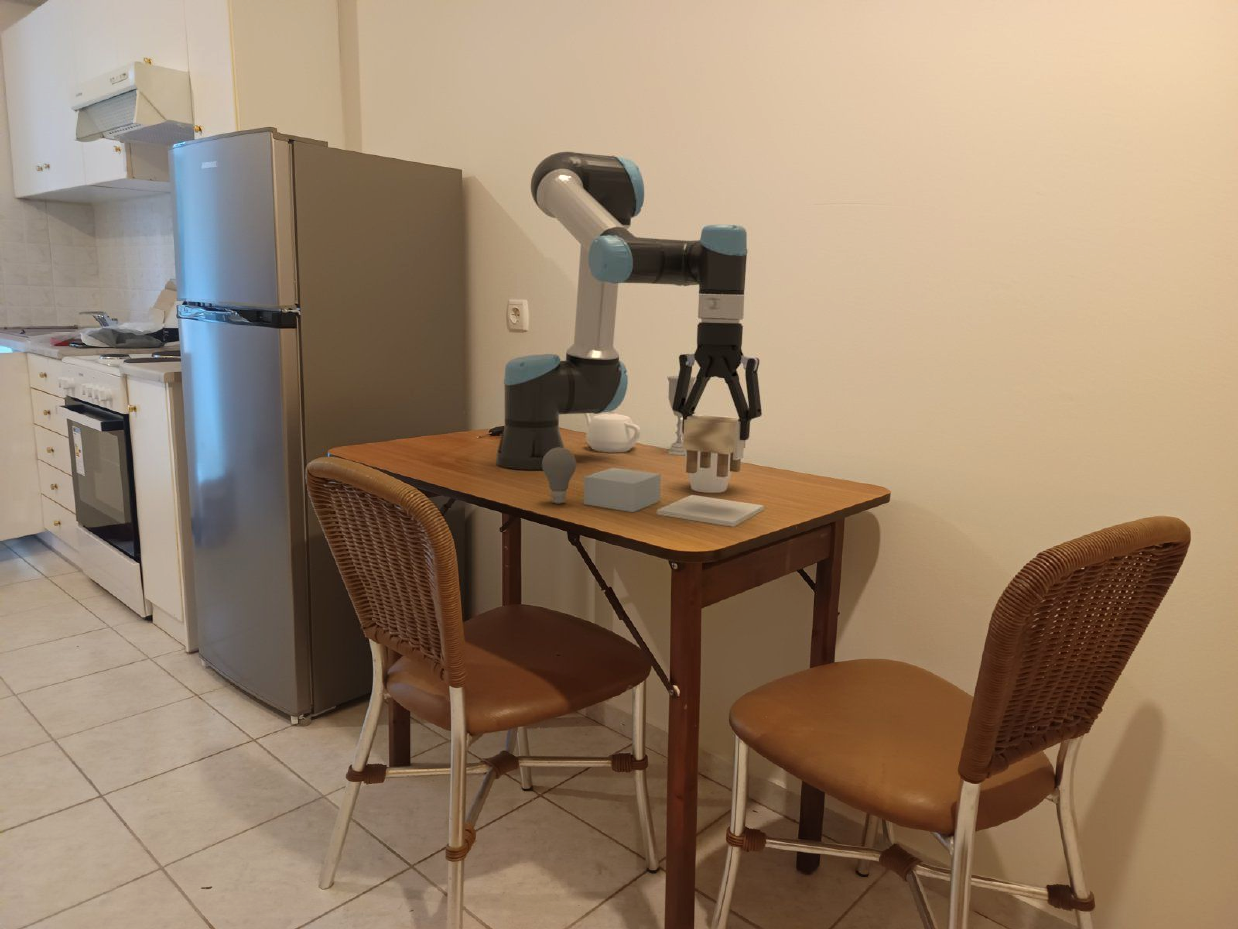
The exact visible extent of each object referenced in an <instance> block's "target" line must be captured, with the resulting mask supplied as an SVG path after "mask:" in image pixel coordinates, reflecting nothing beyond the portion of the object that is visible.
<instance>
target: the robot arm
mask: <svg viewBox="0 0 1238 929" xmlns="http://www.w3.org/2000/svg"><path fill="white" fill-rule="evenodd" d="M644 184H645V183H644V179H643V175H642V173H641V171H640V169H639V166H638V165H637V164H636V163H635V162H634V161H632V160H631V159H629V158H625V157H619V156H615V155H601V154H592V153H584V152H583V153H582V152H581V153H580V152H575V151H562V152H561V151H559V152H556V153H553V154H550V155H549V156H547V157H545V158H544V159H542V161H540V163H539V164H537V166H536V168H534V171H533V172H532V175H531V180H530V193H531V196H532V199H533V202H535V205H536V206H537V207H538V208H539V210H541V211H542V212H543V214H545V215H546V216H548V217H550V218H553V219H557V221H558V222H559V223H560V224H561V225H562V226H563V227H564V228H565V229H566V230H567V231H568V232H569V234H571V236H572V237H574V239H575V240H576V241H577V242H578V243H579V244H580V250H579V263H578V264H579V266H578V279H577V281H578V282H577V291H576V292H577V294H576V309H575V323H574V324H575V325H574V339H573V344H572V345H571V346H570V347H569V348H567V349H566V352H565V353H566V354H565V355H566V356H565V360H561V358H560V355H558V354H557V353H556V354H555V353H545V354H533V355H523V356H520V357H514V358H513V359H510V360H508V362H507V363H506V364H505V369H504V379H503V385H504V428H503V429H504V430H503V431H502V435H501V438H500V442H499V443H498V444H499V445H498V449H497V450H496V454H495V456H496V465H497V466H500V467H503V468H508V469H513V470H529V471H531V470H543V468H542V460H543V458H544V456H545V455H546V453H547V452H548V451H549V450H551V449H553V448H558V447H561V448H565V445H564V441H563V439H562V436H561V431H560V425H559V424H560V423H559V422H560V420H559V419H560V415H574V414H575V415H578V414H579V415H581V414H583V415H584V413H589V414H593V415H600V414H602V413H609V412H611V411H614V410H615V409H616V410H617V409H618V407H619V406H621V404H622V403H623V401H624V399H625V397H626V393H627V390H628V384H629V383H628V382H629V381H628V380H629V379H628V378H629V377H628V374H627V372H628V371H627V367H626V365H625V364H624V363H623V362H622V361H621V360H620V354H619V352H618V351H617V350H616V349H615V348H614V340H615V327H616V317H617V304H618V303H617V302H618V293H619V284H651V285H652V284H653V285H671V286H678V287H681V286H683V287H688V286H698V285H699V286H698V305H697V306H698V307H697V308H698V309H697V318H698V319H701V321H700V322H699V321H698V323H697V324H696V325H697V328H696V345H697V346H696V349H695V351H694V353H690V354H689V353H682V354H680V355H679V356H678V362H679V363H678V364H679V371H678V375H677V376H678V381H677V386H676V392H675V397H674V402H673V407H672V408H671V410H672V409H673V410H674V411H677V412H679V413H681V414H682V416H683V422H682V432H683V434H684V420H686V419H691V418H695V417H698V416H697V415H698V414H696V412H695V411H696V408H697V406H698V405H699V402H700V400H701V397H702V396H703V393H704V392H705V389H706V387H707V385H708V382H709V381H710V380H711V378H718V379H724V383H725V384H727V387H728V390H729V393H730V395H731V400H732V402H733V404H734V407H735V409H736V410H735V411H736V413H737V415H738V418H739V419H738V421H735V430H734V450H733V460H739V459H741V460H742V459H743V458H744V451H745V450H744V449H745V448H744V440H745V441H747V440H749V438H750V433H751V432H750V429H751V421H752V420H754V419H756V418H757V419H758V418H760V417H761V416H762V415H763V413H762V404H761V394H760V384H759V378H758V377H759V376H758V370H759V365H760V359H759V357H750V356H745V355H744V353H743V350H742V346H743V332H744V331H743V329H744V325H743V324H742V323H740V321H742V320H744V313H745V312H744V311H745V310H744V307H745V288H746V273H747V271H746V270H747V257H748V252H749V250H748V249H747V242H748V241H747V239H748V238H747V234H748V233H747V230H746V228H744V226H742V225H736V224H708V225H705V226H704V227H703V228H701V232H700V233H701V234H700V238H699V239H697V240H695V239H694V240H685V239H682V240H681V239H667V238H666V239H663V238H649V237H648V238H647V237H637V236H635V235H634V234H633V233H631V231H629V230H628V229H629V228H630V227H631V224H632V223H631V221H632V218H635V217H637V216H638V215H639V214H640V213H641V211H642V207H643V206H644V201H645V185H644ZM695 363H697V365H698V366H699V370H698V372H697V374H696V376H695V377H696V379H695V381H694V385H693V388H692V390H691V392H690V394H689V397H688V399H687V401H686V398H687V393H688V388H689V383H690V378H691V377H692V372H693V366H694V365H695ZM740 365H742V368H743V369H744V370H745V373H744V376H745V377H744V378H745V382H746V383H745V384H746V385H745V386H746V394H747V399H746V396H745V394H744V390H743V388H742V385H741V382H740V376H739V373H738V371H737V369H738V368H739V367H740ZM673 410H672V411H673ZM686 454H687V450H686Z"/></svg>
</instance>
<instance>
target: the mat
mask: <svg viewBox="0 0 1238 929" xmlns="http://www.w3.org/2000/svg"><path fill="white" fill-rule="evenodd" d="M764 510H765V505H763V504H757V503H750V502H749V503H748V502H742V501H737V500H736V501H735V500H728V499H721V498H715V497H710V496H709V497H708V496H701V495H694V494H690V495H688V496H685V497H683V498H681V499H679V500H677V501H674V502H671V503H670V504H667V505H665V506H663V507H659V508H658V509H656V515H659V516H664V517H670V518H677V519H682V520H689V521H694V522H695V521H696V522H701V523H707V524H713V525H720V526H726V527H730V528H731V527H732V528H735V527H736V526H737V525H739V524H741V523H743V522H745V521H747V520H748V519H750V518H752V517H754V516H756V515H758V514H759V513H761V512H763V511H764Z"/></svg>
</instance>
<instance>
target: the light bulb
mask: <svg viewBox="0 0 1238 929" xmlns="http://www.w3.org/2000/svg"><path fill="white" fill-rule="evenodd" d="M542 468H543V469H542V470H543V474H544V475H545V477H546V478H547V481H548V485H549V489H550V490H551V491H550V494H551V496H550V497H551V499H550V501H551V502H553V503H555V504H556V505H560V504H563V503H565V502H566V501H567V490H568V488H569V484H570V482H571V478H572V477H573V475H574V474H575V472H576V469H577V461H576V458H575V456H574V454H573V453H572V452H571V451H570V450H569V449H567V448H565V447H564V448H561V447H558V448H553V449H551V450H549V451H548V452H547V453H546V455H545V456H544V458H543V460H542Z"/></svg>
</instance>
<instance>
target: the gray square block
mask: <svg viewBox="0 0 1238 929" xmlns="http://www.w3.org/2000/svg"><path fill="white" fill-rule="evenodd" d="M583 478H584V480H583V481H584V482H583V505H586V506H591V507H592V506H593V507H599V508H605V509H611V510H616V511H623V512H628V513H629V512H630V513H635V512H637V511H640V510H643V509H645V508H647V507H649V506H651V505H654V504H657V503H660V502H661V483H662V482H661V481H662V480H661V478H662V475H661V473H654V472H647V471H641V470H640V471H638V470H631V469H625V468H617V467H610V468H608V469H603V470H601V471H597V472H595V473H592V474H589V475H585V476H583Z"/></svg>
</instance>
